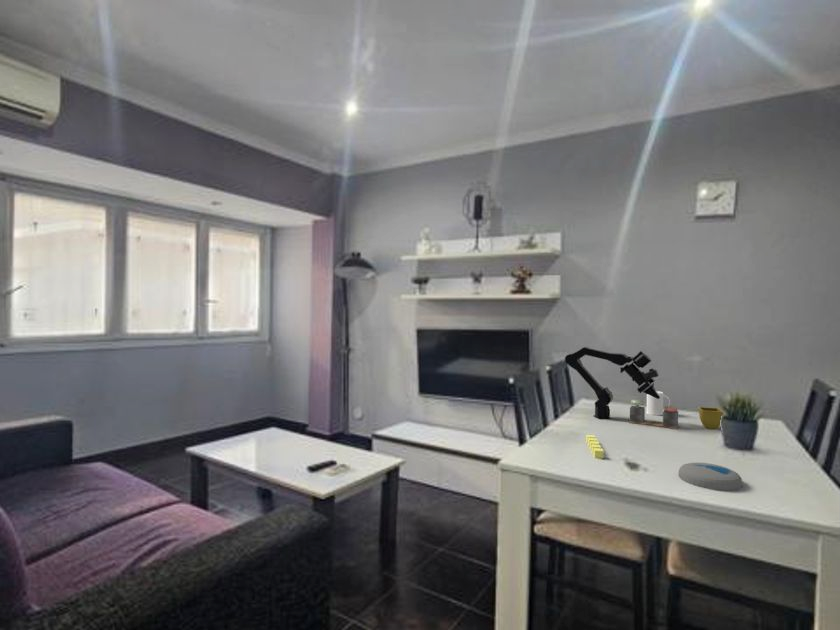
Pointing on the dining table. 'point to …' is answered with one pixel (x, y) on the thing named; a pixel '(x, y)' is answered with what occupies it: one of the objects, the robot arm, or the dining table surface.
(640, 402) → the sage button
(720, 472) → the decorative stone
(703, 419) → the flower pot
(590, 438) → the yellow ridged bar
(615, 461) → the dining table surface
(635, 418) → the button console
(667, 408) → the red button
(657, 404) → the mug
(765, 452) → the dining table surface
